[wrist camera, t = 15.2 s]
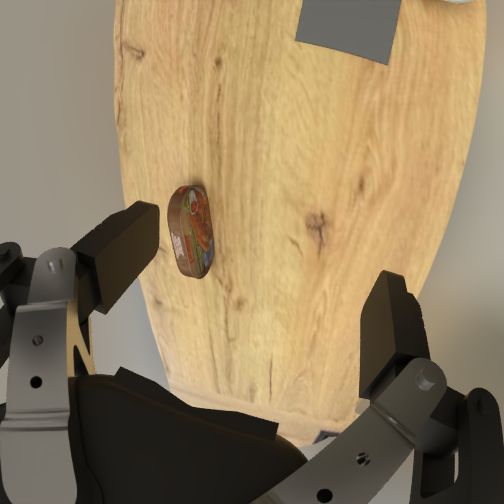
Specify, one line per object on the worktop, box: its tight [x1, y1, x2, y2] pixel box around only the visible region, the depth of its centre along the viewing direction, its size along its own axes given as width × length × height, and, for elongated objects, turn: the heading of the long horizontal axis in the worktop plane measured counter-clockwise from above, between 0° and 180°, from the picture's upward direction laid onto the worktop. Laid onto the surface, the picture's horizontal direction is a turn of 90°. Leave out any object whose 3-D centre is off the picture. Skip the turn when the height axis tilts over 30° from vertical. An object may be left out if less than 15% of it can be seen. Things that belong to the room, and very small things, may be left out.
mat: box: [295, 0, 401, 65], centre depth 28 cm, size 12×12×1 cm
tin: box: [167, 185, 214, 279], centre depth 47 cm, size 15×3×8 cm, turn 4°
